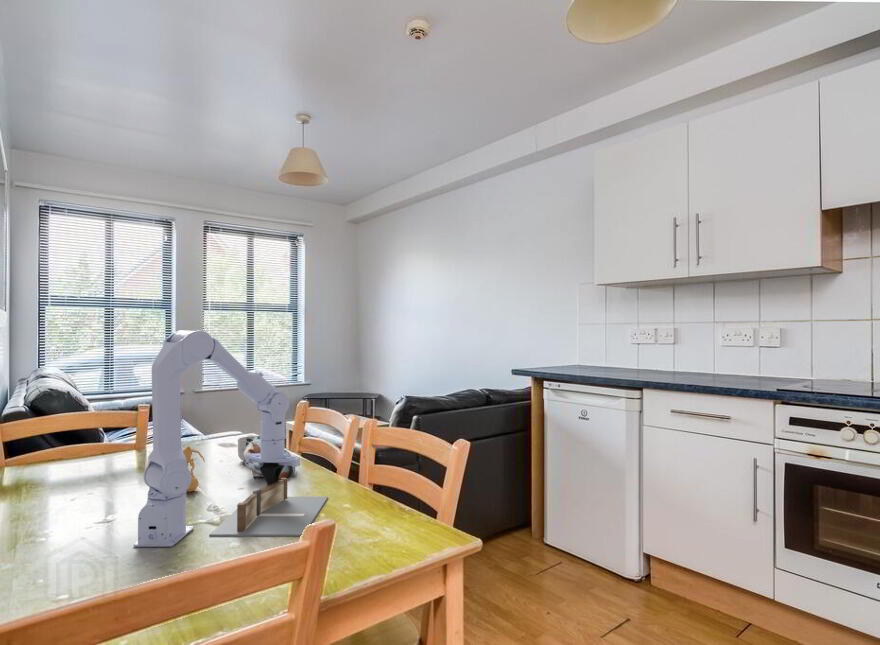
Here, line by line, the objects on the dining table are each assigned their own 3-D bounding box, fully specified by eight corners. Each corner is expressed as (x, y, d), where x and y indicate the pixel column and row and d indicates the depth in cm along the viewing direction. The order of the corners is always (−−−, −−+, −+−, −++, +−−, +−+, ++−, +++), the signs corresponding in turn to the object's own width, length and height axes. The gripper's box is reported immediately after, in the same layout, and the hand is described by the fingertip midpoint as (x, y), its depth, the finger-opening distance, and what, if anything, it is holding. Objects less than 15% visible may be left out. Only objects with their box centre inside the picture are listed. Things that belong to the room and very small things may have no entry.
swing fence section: (261, 512, 119) (261, 490, 119) (256, 511, 119) (256, 489, 119) (287, 498, 128) (287, 478, 128) (282, 497, 129) (282, 477, 129)
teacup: (230, 464, 164) (230, 439, 164) (251, 456, 174) (251, 432, 174) (266, 467, 160) (266, 442, 160) (286, 459, 170) (286, 435, 170)
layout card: (303, 536, 107) (303, 533, 107) (209, 536, 107) (209, 533, 107) (327, 498, 131) (327, 496, 131) (250, 498, 131) (250, 496, 131)
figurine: (175, 496, 132) (176, 451, 132) (168, 491, 136) (169, 447, 136) (208, 489, 138) (209, 445, 138) (201, 484, 142) (201, 442, 142)
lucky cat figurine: (296, 479, 147) (276, 441, 142) (256, 498, 145) (235, 460, 140) (294, 453, 161) (276, 417, 155) (258, 469, 158) (238, 434, 153)
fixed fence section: (244, 531, 109) (244, 504, 109) (236, 531, 108) (236, 504, 109) (260, 513, 119) (260, 489, 119) (253, 513, 119) (254, 489, 119)
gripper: (306, 437, 128) (306, 490, 128) (257, 433, 132) (257, 485, 132) (290, 443, 121) (290, 499, 121) (240, 439, 125) (239, 494, 125)
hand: (272, 493), depth 126 cm, fingers closed
